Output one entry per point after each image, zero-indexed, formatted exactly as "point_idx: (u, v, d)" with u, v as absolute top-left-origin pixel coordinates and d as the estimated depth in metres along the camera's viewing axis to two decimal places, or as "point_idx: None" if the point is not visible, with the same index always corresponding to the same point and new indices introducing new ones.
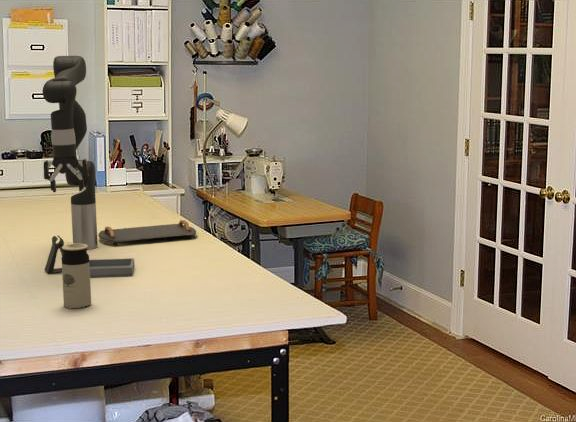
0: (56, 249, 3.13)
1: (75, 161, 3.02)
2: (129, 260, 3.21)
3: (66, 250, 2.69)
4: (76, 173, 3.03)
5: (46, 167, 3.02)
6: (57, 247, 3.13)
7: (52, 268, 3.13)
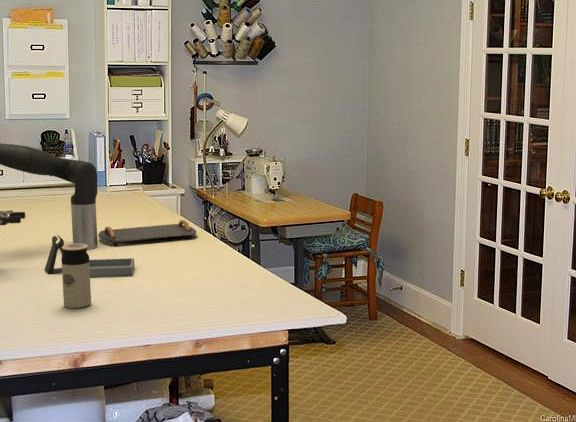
0: (56, 249, 3.13)
1: None
2: (129, 260, 3.21)
3: (66, 250, 2.69)
4: None
5: None
6: (57, 247, 3.13)
7: (52, 268, 3.13)
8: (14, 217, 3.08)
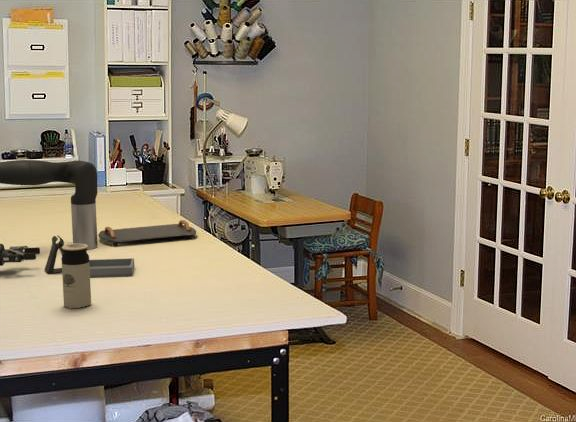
0: (56, 249, 3.13)
1: None
2: (129, 260, 3.21)
3: (66, 250, 2.69)
4: None
5: None
6: (57, 247, 3.13)
7: (52, 268, 3.13)
8: (29, 254, 3.11)
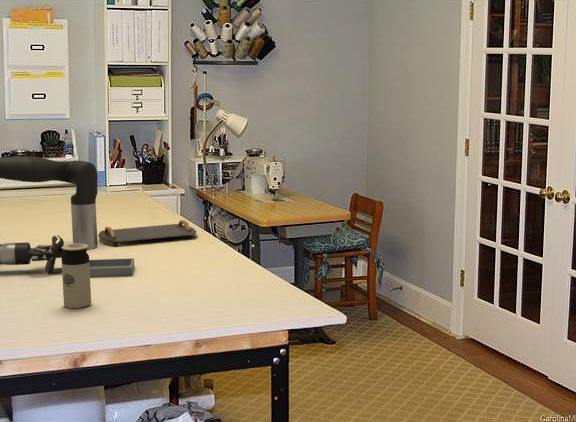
0: (56, 249, 3.13)
1: None
2: (129, 260, 3.21)
3: (66, 250, 2.69)
4: None
5: None
6: (57, 247, 3.13)
7: (52, 268, 3.13)
8: (58, 252, 3.13)
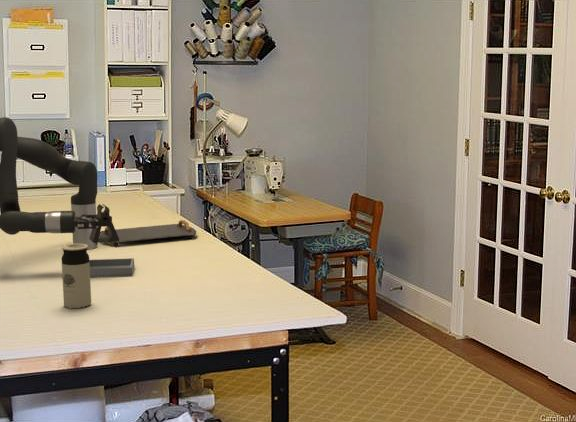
0: (102, 217, 3.09)
1: (78, 226, 3.08)
2: (129, 260, 3.21)
3: (66, 250, 2.69)
4: None
5: None
6: (103, 215, 3.09)
7: (97, 237, 3.09)
8: (104, 220, 3.08)
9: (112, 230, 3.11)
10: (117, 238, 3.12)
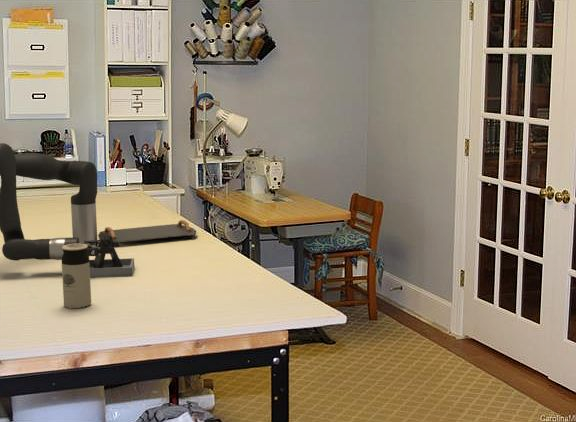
0: None
1: None
2: (129, 260, 3.21)
3: (66, 250, 2.69)
4: None
5: None
6: (106, 245, 3.11)
7: (101, 266, 3.12)
8: (106, 248, 3.09)
9: (116, 258, 3.14)
10: (121, 266, 3.15)
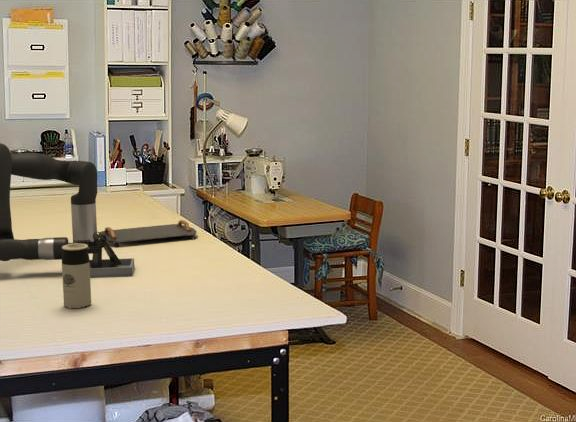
0: (100, 246, 3.11)
1: None
2: (129, 260, 3.21)
3: (66, 250, 2.69)
4: None
5: None
6: (101, 244, 3.11)
7: (100, 265, 3.12)
8: (95, 247, 3.09)
9: (113, 255, 3.14)
10: (119, 262, 3.15)
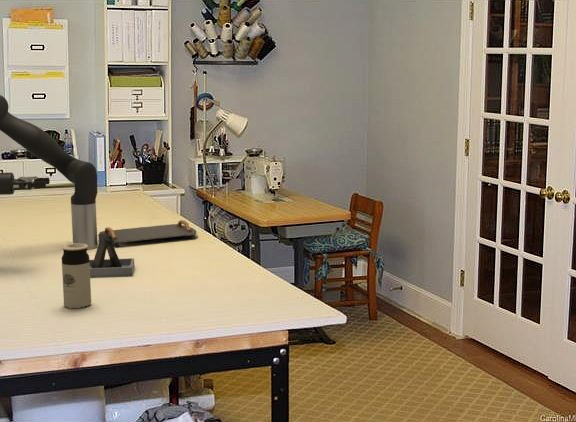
0: (105, 247, 3.12)
1: None
2: (129, 260, 3.21)
3: (66, 250, 2.69)
4: None
5: None
6: (106, 245, 3.12)
7: (101, 266, 3.12)
8: (39, 182, 3.12)
9: (115, 259, 3.14)
10: (120, 266, 3.16)
